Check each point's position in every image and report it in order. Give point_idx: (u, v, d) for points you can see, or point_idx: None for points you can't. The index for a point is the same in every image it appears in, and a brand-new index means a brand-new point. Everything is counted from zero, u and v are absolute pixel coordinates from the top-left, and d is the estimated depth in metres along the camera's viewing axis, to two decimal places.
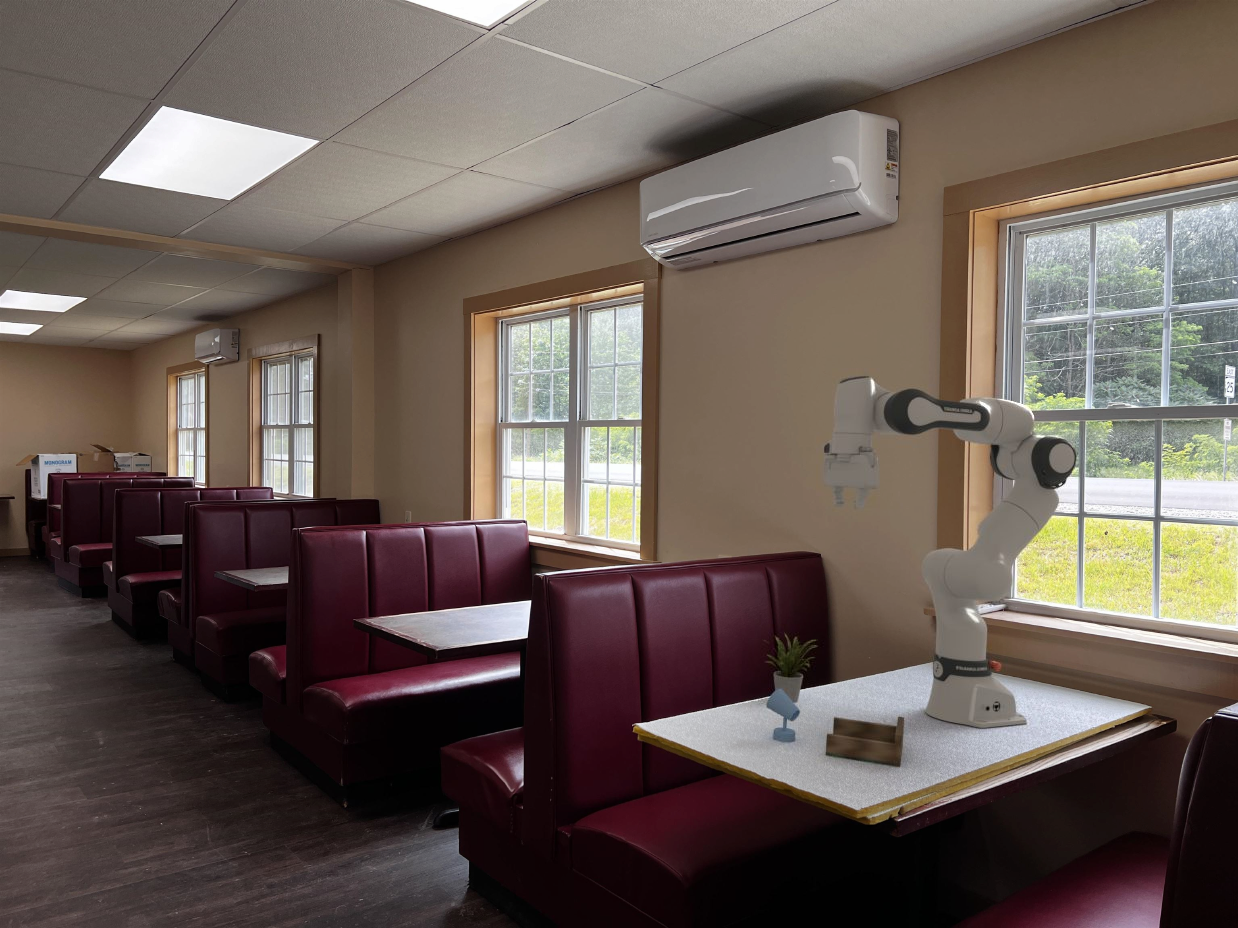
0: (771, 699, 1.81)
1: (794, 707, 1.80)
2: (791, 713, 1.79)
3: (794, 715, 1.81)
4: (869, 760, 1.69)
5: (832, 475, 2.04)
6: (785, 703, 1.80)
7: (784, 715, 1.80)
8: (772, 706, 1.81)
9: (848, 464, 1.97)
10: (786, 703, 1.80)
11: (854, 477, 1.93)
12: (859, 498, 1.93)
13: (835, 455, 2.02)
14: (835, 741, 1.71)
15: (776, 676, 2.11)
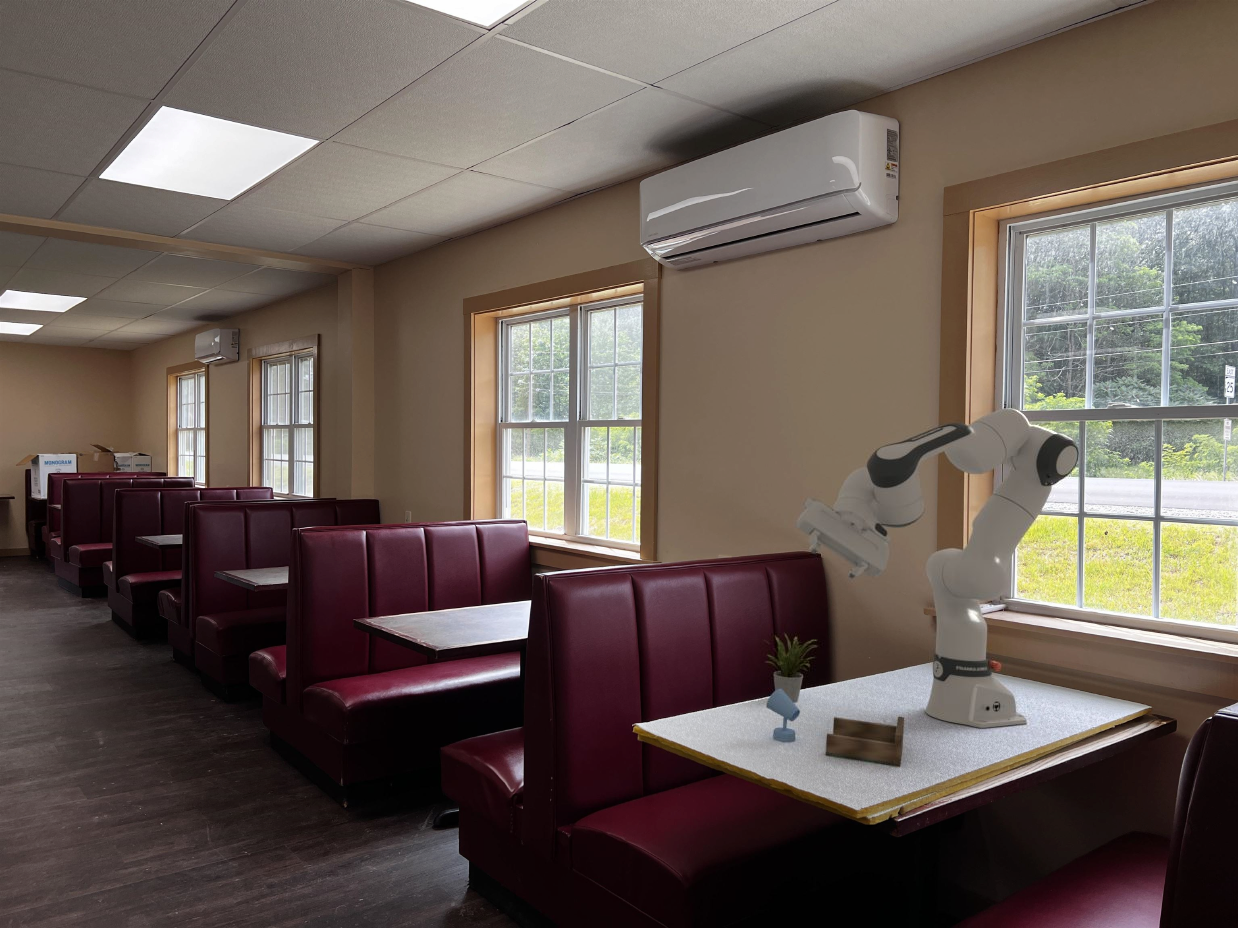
0: (771, 699, 1.81)
1: (794, 707, 1.80)
2: (791, 713, 1.79)
3: (794, 715, 1.81)
4: (869, 760, 1.69)
5: None
6: (785, 703, 1.80)
7: (784, 715, 1.80)
8: (772, 706, 1.81)
9: None
10: (786, 703, 1.80)
11: None
12: (810, 542, 1.80)
13: None
14: (835, 741, 1.71)
15: (776, 676, 2.11)
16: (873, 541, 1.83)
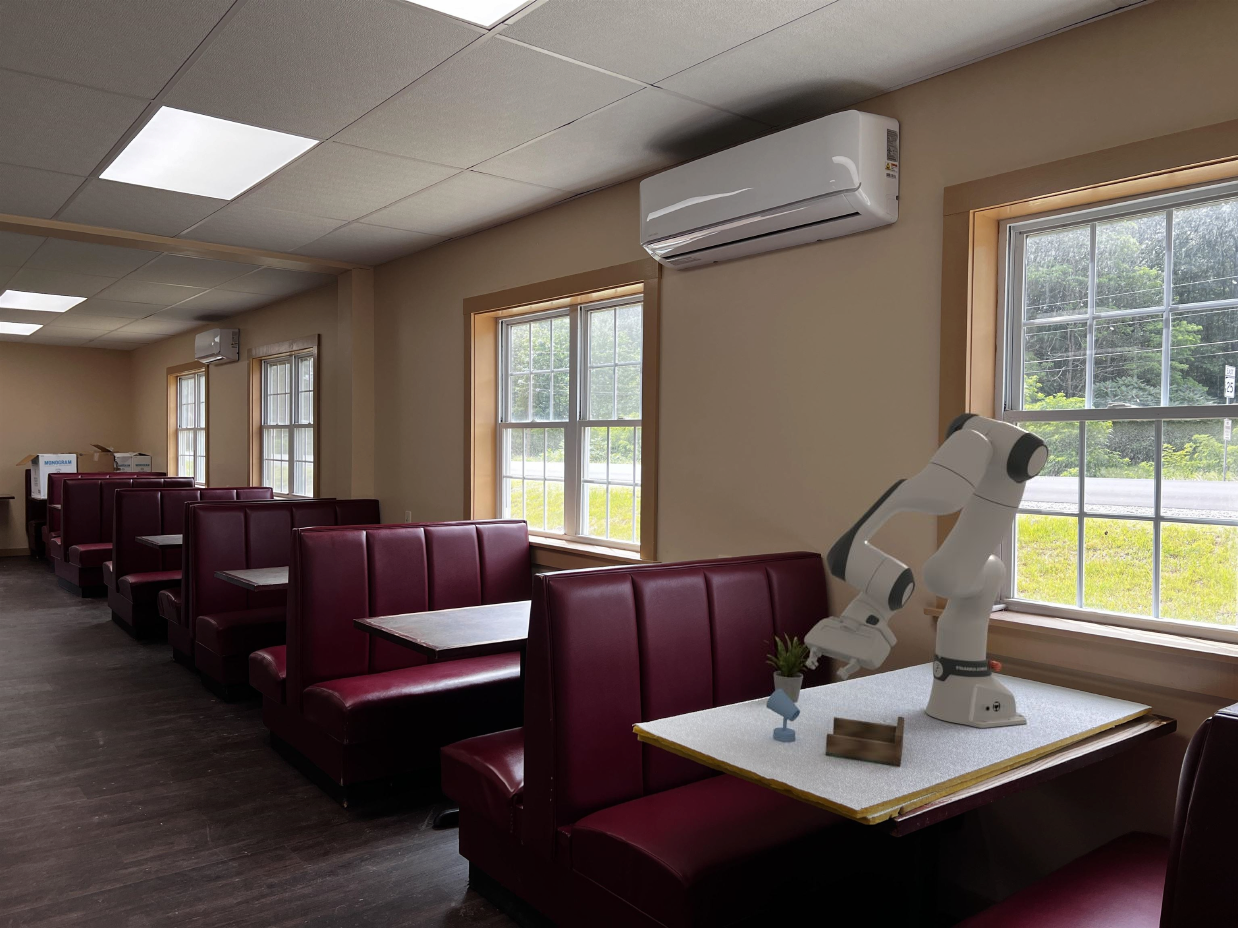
0: (771, 699, 1.81)
1: (794, 707, 1.80)
2: (791, 713, 1.79)
3: (794, 715, 1.81)
4: (869, 760, 1.69)
5: None
6: (785, 703, 1.80)
7: (784, 715, 1.80)
8: (772, 706, 1.81)
9: None
10: (786, 703, 1.80)
11: None
12: None
13: None
14: (835, 741, 1.71)
15: (776, 676, 2.11)
16: (867, 634, 1.83)
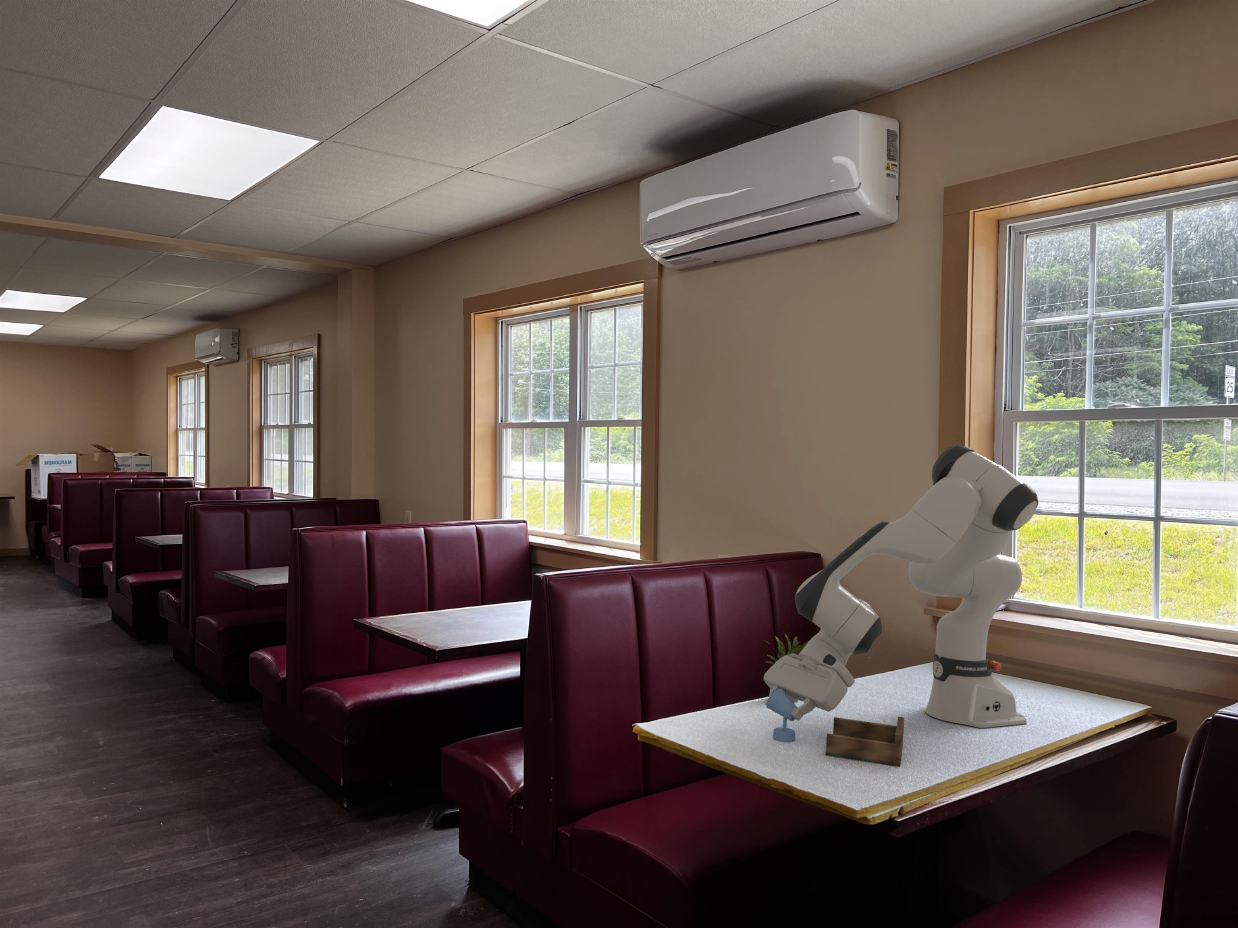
0: (771, 699, 1.81)
1: (794, 707, 1.80)
2: None
3: None
4: (869, 760, 1.69)
5: None
6: (785, 703, 1.80)
7: (784, 715, 1.80)
8: (772, 706, 1.81)
9: None
10: (786, 703, 1.80)
11: None
12: None
13: None
14: (835, 741, 1.71)
15: None
16: (823, 674, 1.79)
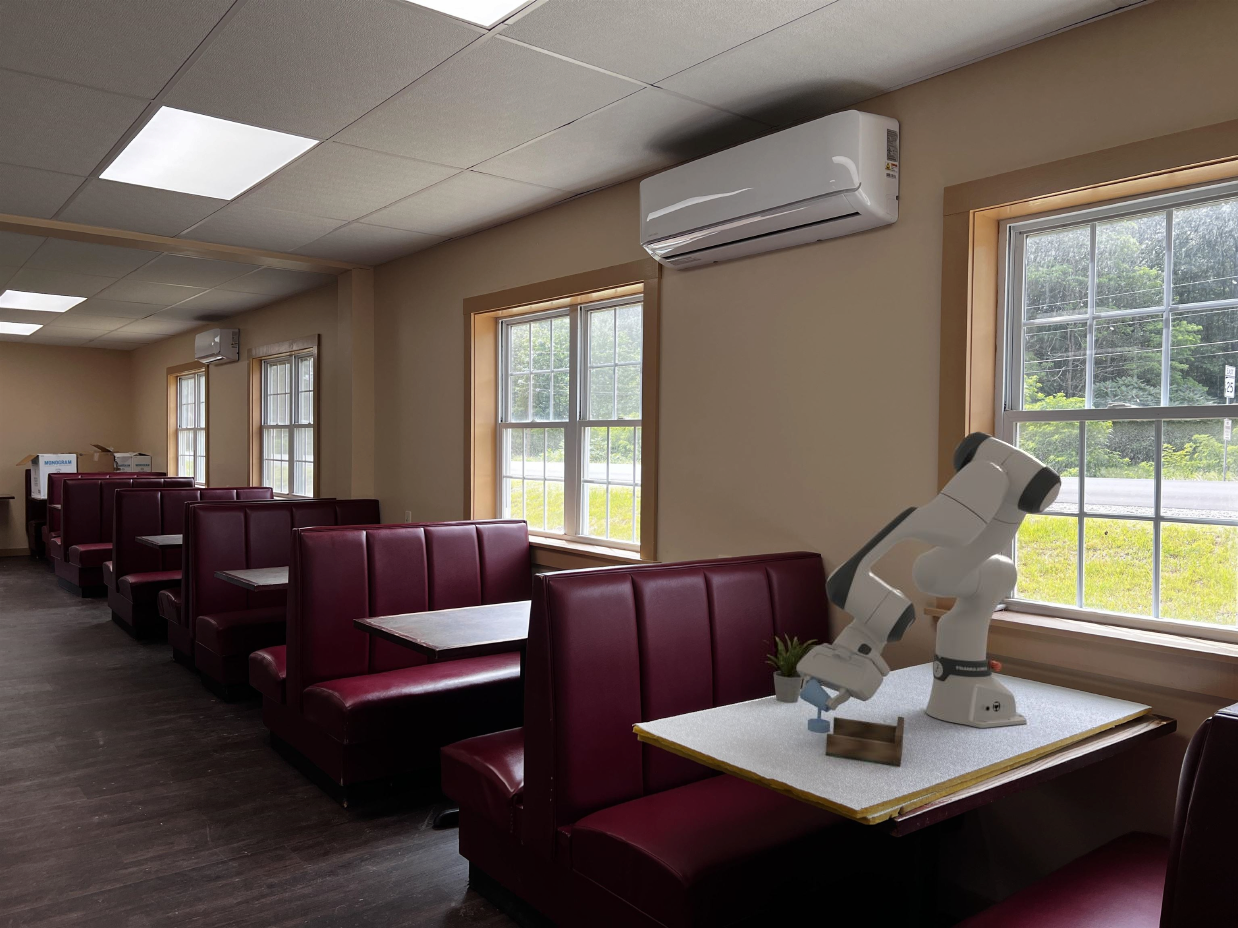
0: (805, 689, 1.79)
1: None
2: None
3: None
4: (869, 760, 1.69)
5: None
6: (820, 693, 1.78)
7: (819, 706, 1.78)
8: (806, 697, 1.79)
9: None
10: (820, 694, 1.78)
11: None
12: None
13: None
14: (835, 741, 1.71)
15: (776, 676, 2.11)
16: (858, 664, 1.77)
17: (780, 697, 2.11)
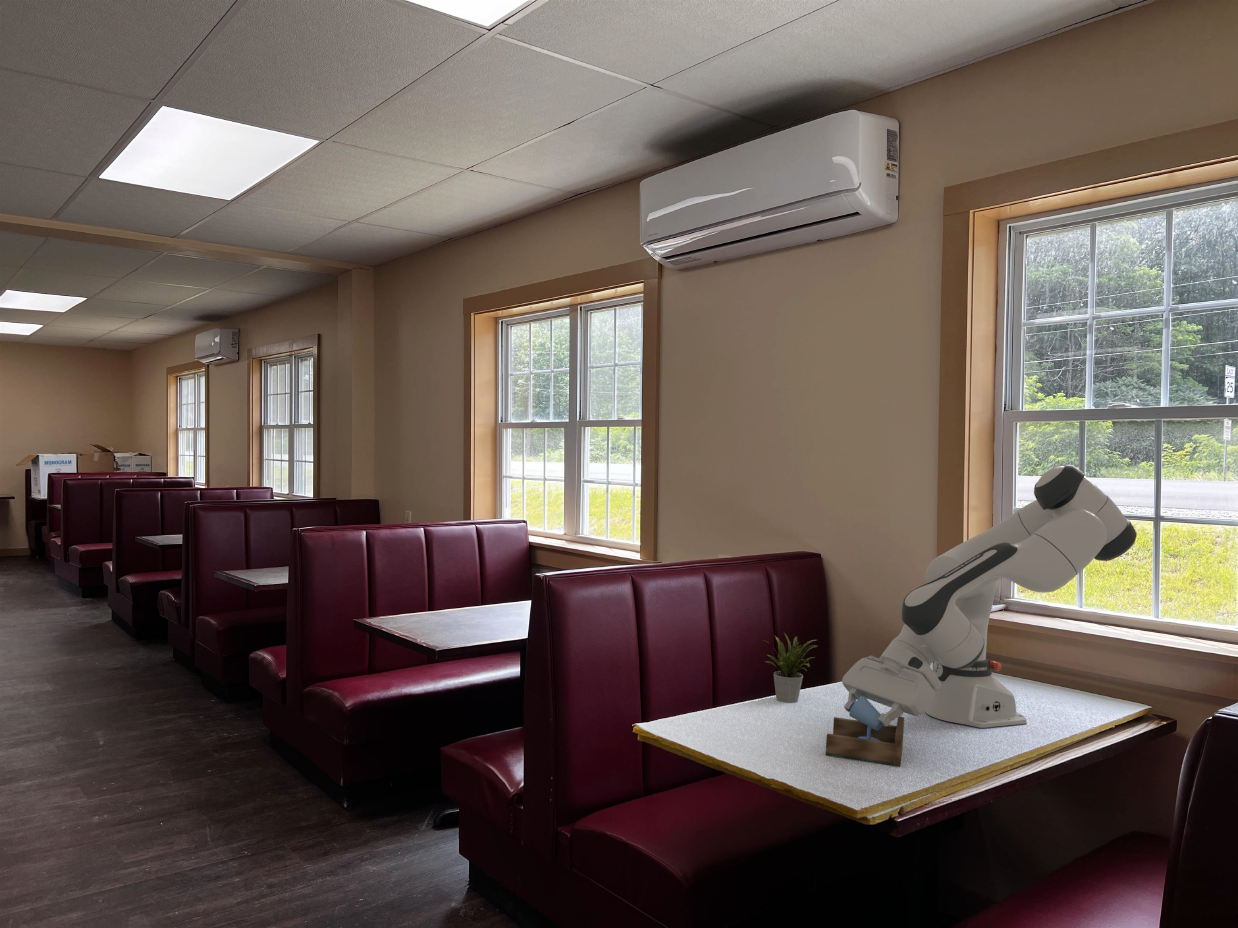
0: (855, 707, 1.76)
1: (879, 716, 1.74)
2: (877, 722, 1.73)
3: (879, 724, 1.76)
4: (869, 760, 1.69)
5: None
6: (870, 711, 1.74)
7: (869, 724, 1.74)
8: (855, 715, 1.76)
9: None
10: (871, 712, 1.74)
11: None
12: None
13: None
14: (835, 741, 1.71)
15: (776, 676, 2.11)
16: (909, 678, 1.74)
17: (780, 698, 2.11)
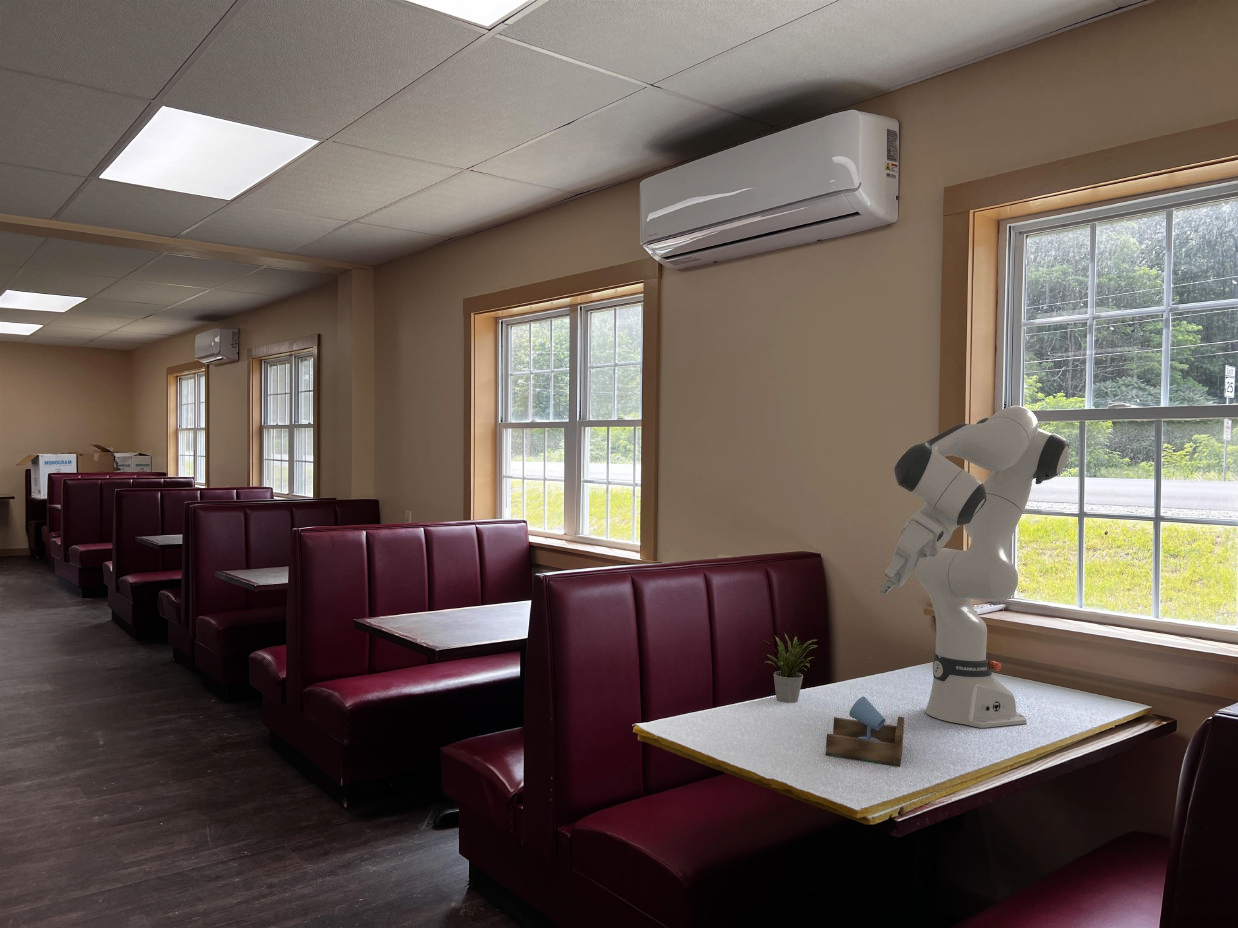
0: (855, 707, 1.76)
1: (879, 716, 1.74)
2: (877, 722, 1.73)
3: (879, 724, 1.76)
4: (869, 760, 1.69)
5: (915, 554, 1.78)
6: (870, 711, 1.75)
7: (869, 724, 1.74)
8: (855, 715, 1.76)
9: (917, 557, 1.85)
10: (871, 712, 1.75)
11: (908, 574, 1.87)
12: None
13: None
14: (835, 741, 1.71)
15: (776, 676, 2.11)
16: None
17: (780, 698, 2.11)
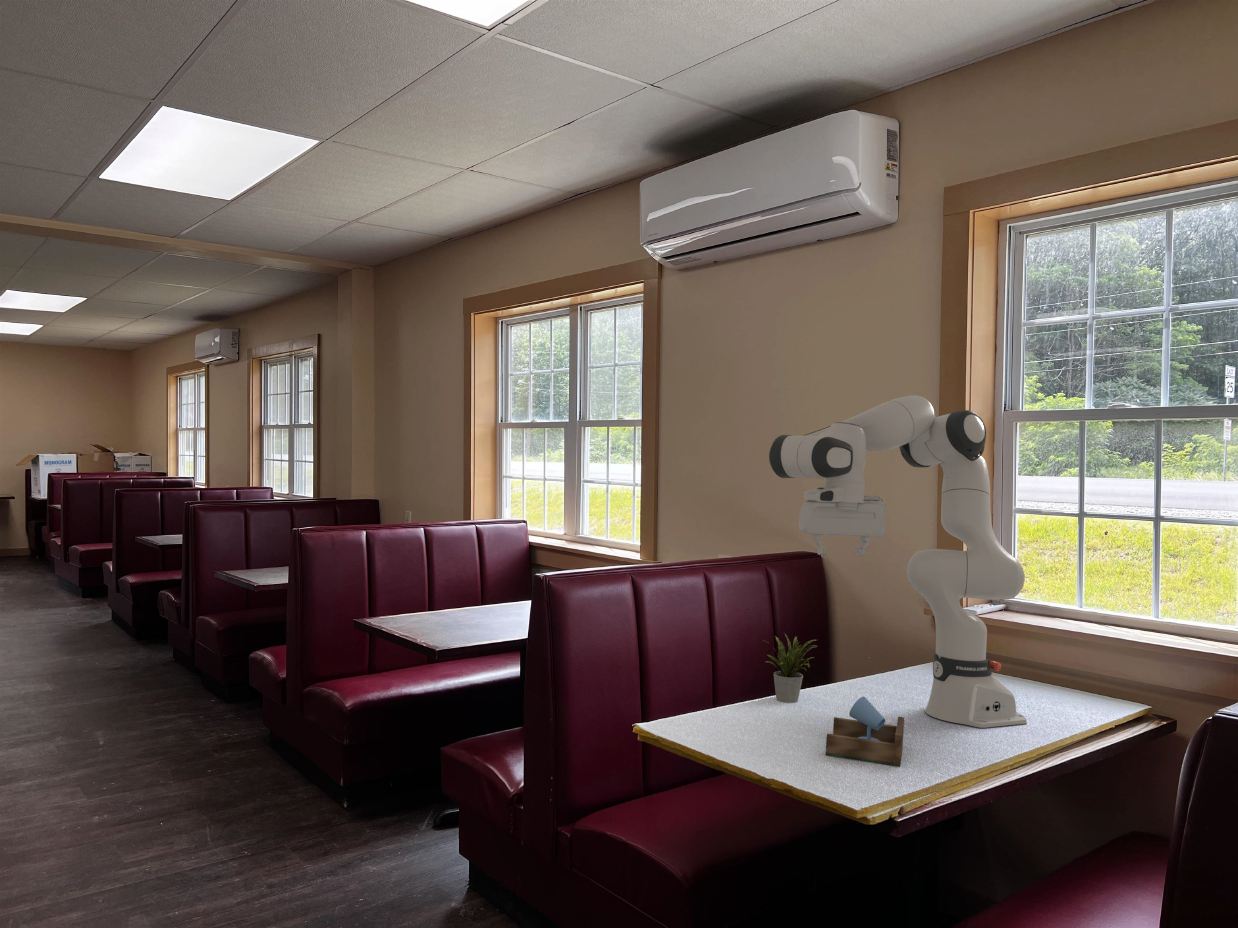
0: (855, 707, 1.76)
1: (879, 716, 1.74)
2: (877, 722, 1.73)
3: (879, 724, 1.76)
4: (869, 760, 1.69)
5: (824, 524, 1.96)
6: (870, 711, 1.75)
7: (869, 724, 1.74)
8: (855, 715, 1.76)
9: (854, 512, 1.98)
10: (871, 712, 1.75)
11: (867, 526, 1.98)
12: None
13: (835, 503, 1.96)
14: (835, 741, 1.71)
15: (776, 676, 2.11)
16: None
17: (780, 697, 2.11)
